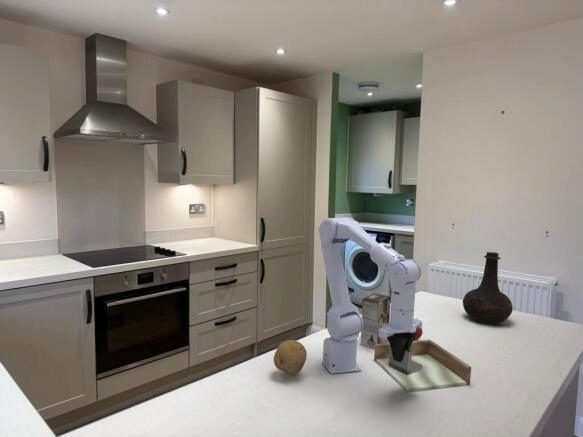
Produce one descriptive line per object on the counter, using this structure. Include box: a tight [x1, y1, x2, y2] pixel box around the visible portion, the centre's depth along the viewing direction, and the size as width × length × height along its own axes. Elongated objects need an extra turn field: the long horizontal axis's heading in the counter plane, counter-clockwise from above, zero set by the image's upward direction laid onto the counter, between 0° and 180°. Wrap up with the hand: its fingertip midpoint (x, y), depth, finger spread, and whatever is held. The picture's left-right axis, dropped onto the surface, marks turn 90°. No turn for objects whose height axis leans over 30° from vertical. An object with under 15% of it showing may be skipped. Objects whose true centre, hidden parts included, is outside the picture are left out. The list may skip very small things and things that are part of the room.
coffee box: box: [360, 292, 391, 350], centre depth 135 cm, size 9×6×16 cm
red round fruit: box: [414, 327, 423, 341], centre depth 138 cm, size 6×6×8 cm
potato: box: [273, 339, 308, 377], centre depth 112 cm, size 9×9×10 cm
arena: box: [373, 339, 472, 393], centre depth 116 cm, size 19×19×5 cm
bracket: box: [389, 347, 423, 375], centre depth 104 cm, size 6×6×6 cm
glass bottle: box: [462, 251, 513, 325], centre depth 162 cm, size 18×18×28 cm
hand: (399, 359), depth 102 cm, fingers closed on bracket
